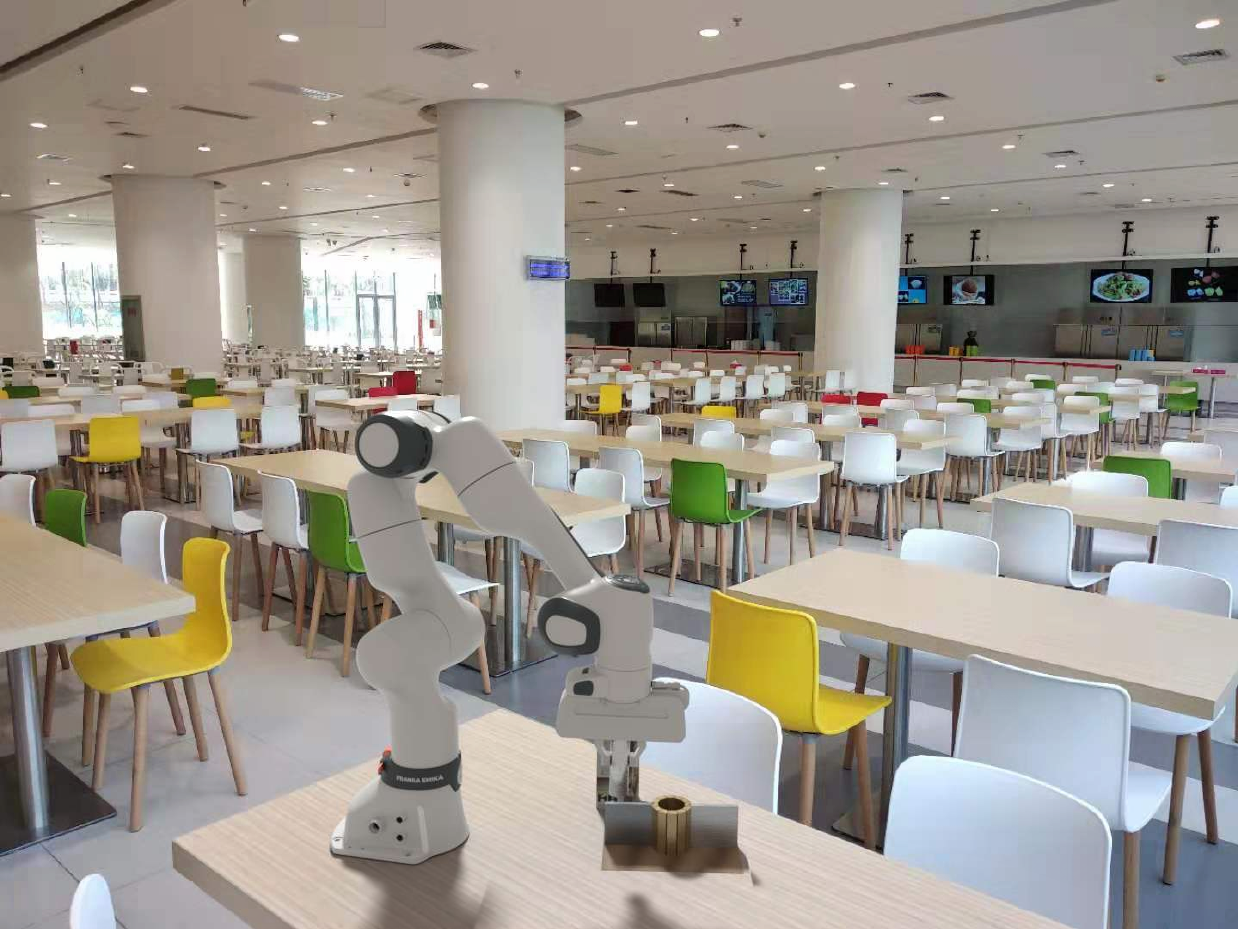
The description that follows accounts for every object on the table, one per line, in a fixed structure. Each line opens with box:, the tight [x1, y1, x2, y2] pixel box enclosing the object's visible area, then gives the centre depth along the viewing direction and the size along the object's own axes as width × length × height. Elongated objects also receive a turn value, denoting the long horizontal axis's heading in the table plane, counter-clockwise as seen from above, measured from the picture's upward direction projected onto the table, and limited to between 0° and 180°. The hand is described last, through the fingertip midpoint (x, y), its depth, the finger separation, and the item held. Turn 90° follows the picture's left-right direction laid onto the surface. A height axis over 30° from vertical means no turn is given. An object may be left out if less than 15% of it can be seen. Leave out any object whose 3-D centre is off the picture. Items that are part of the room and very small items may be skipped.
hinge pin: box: [609, 740, 630, 798], centre depth 149 cm, size 3×3×12 cm
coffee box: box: [595, 740, 640, 810], centre depth 171 cm, size 9×6×16 cm
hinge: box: [603, 794, 739, 855], centre depth 155 cm, size 22×6×7 cm, turn 89°
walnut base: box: [600, 830, 744, 875], centre depth 154 cm, size 22×12×2 cm, turn 89°
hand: (619, 765), depth 149 cm, fingers closed on hinge pin, 3 cm apart
